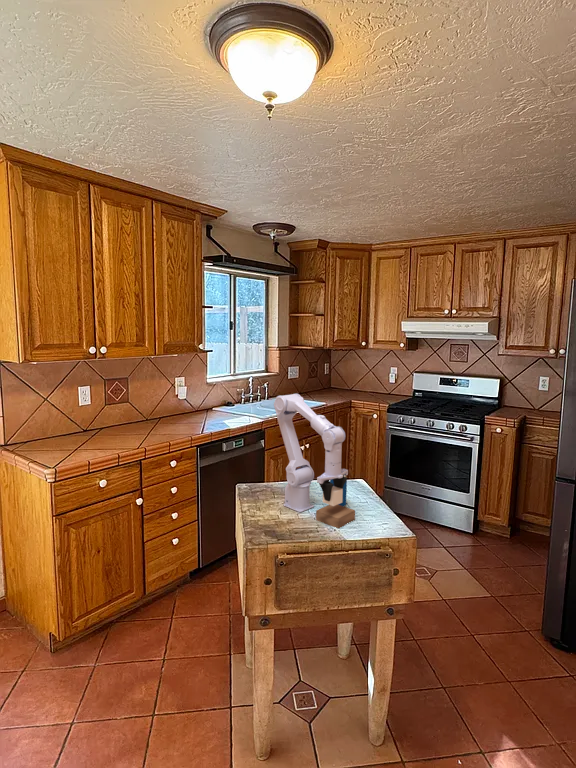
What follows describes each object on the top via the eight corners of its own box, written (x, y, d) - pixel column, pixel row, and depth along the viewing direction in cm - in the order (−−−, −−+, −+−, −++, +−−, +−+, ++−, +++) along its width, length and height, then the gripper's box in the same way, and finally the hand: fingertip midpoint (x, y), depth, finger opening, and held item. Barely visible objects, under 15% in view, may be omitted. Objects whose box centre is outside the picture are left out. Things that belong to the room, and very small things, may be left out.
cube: (322, 502, 162) (322, 488, 162) (331, 498, 166) (332, 485, 165) (333, 506, 159) (333, 492, 158) (342, 502, 162) (342, 489, 161)
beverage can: (344, 502, 180) (345, 473, 179) (347, 508, 174) (348, 478, 172) (328, 502, 180) (329, 473, 179) (330, 508, 174) (331, 478, 172)
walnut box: (316, 521, 163) (316, 510, 163) (332, 513, 171) (333, 502, 170) (338, 529, 157) (338, 518, 156) (354, 520, 164) (355, 510, 164)
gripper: (328, 468, 152) (327, 506, 154) (354, 459, 162) (353, 496, 164) (312, 463, 158) (312, 501, 159) (339, 455, 167) (339, 491, 169)
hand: (332, 498), depth 162 cm, fingers closed on cube, 5 cm apart
